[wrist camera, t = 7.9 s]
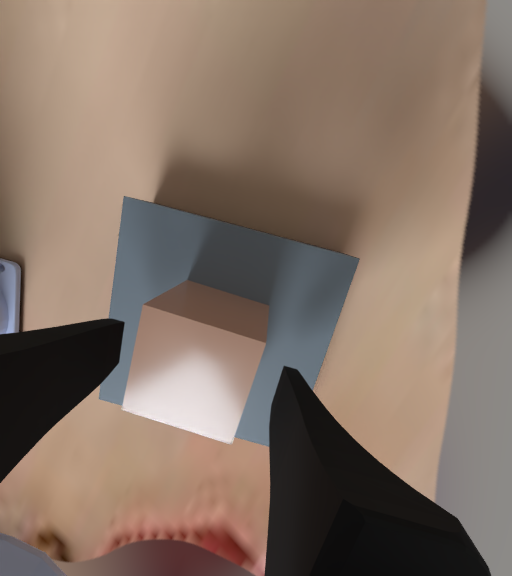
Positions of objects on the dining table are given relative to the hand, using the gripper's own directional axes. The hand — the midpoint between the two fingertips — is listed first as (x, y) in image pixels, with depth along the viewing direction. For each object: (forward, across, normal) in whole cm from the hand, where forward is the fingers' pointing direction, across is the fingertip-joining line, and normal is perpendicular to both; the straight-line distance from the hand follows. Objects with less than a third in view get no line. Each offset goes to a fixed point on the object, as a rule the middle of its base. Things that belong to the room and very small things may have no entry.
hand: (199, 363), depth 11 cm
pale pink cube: (+3, 0, 0) cm, 3 cm away
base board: (+6, 0, 0) cm, 6 cm away
